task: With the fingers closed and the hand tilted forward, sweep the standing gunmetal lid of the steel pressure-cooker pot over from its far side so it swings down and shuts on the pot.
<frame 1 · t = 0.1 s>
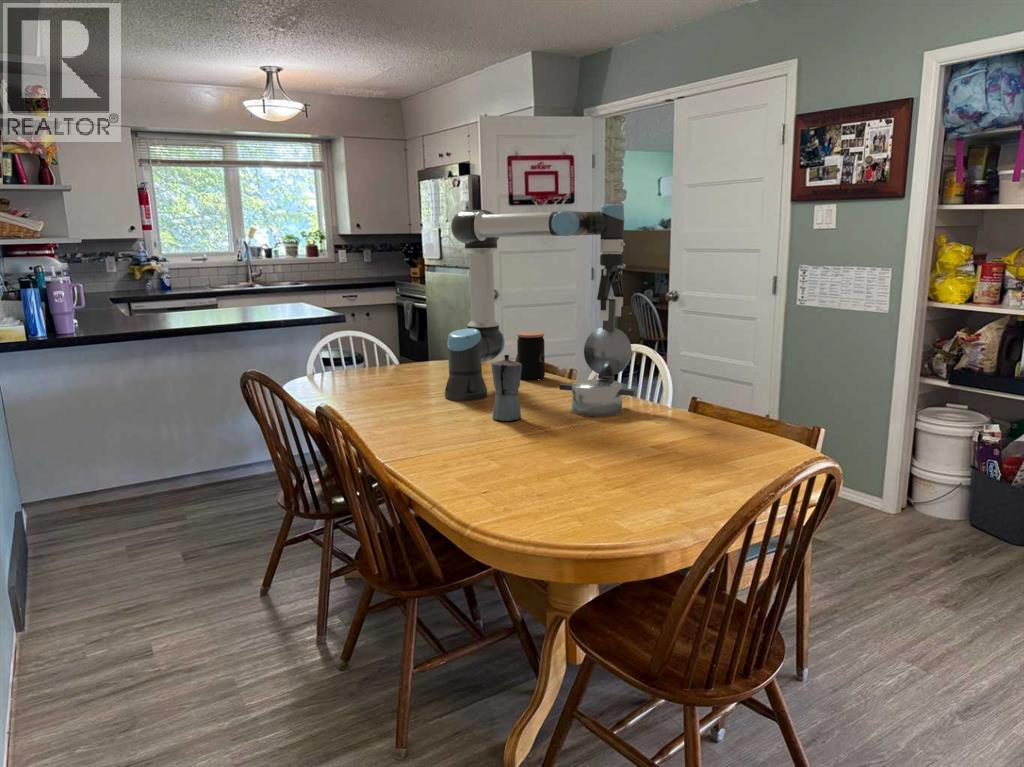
hand: (610, 318, 231), 28 cm above the table, tool pointing down, fingers open, 13 cm apart
coffee jar: (531, 378, 276), on the table
pot: (596, 410, 223), on the table
moka pot: (507, 419, 215), on the table
lid: (608, 339, 227), point 22 cm above the table, hinge at 98.0°
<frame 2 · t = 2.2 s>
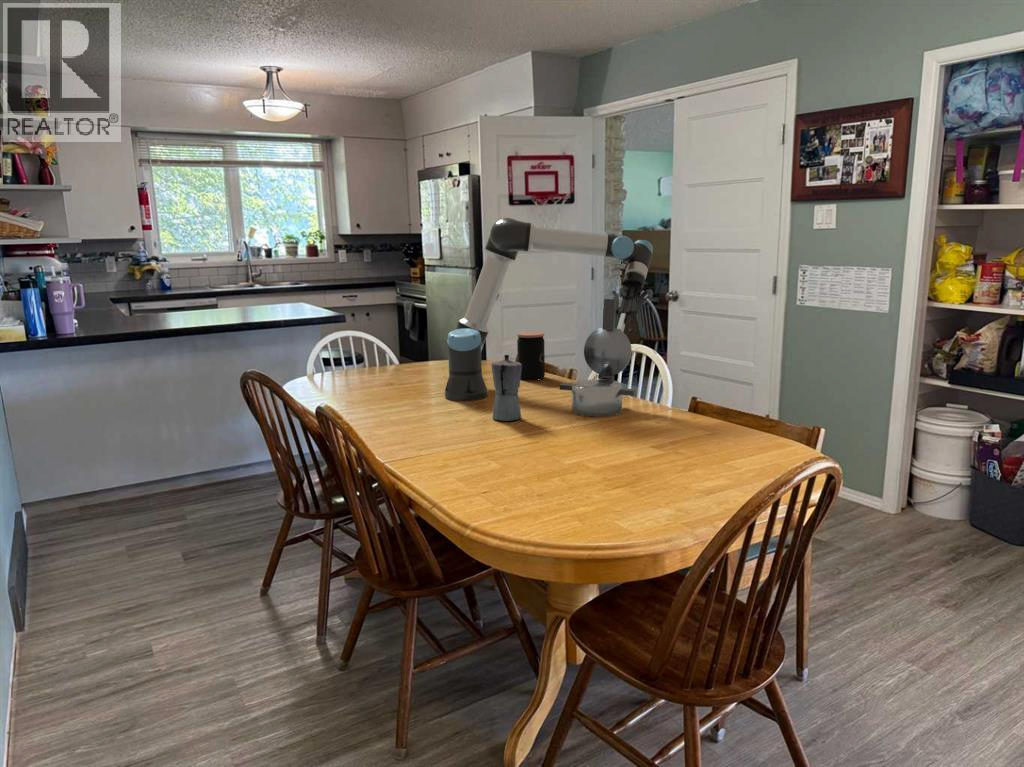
hand: (619, 330, 235), 23 cm above the table, tool tilted 45°, fingers closed
nothing on the table moved.
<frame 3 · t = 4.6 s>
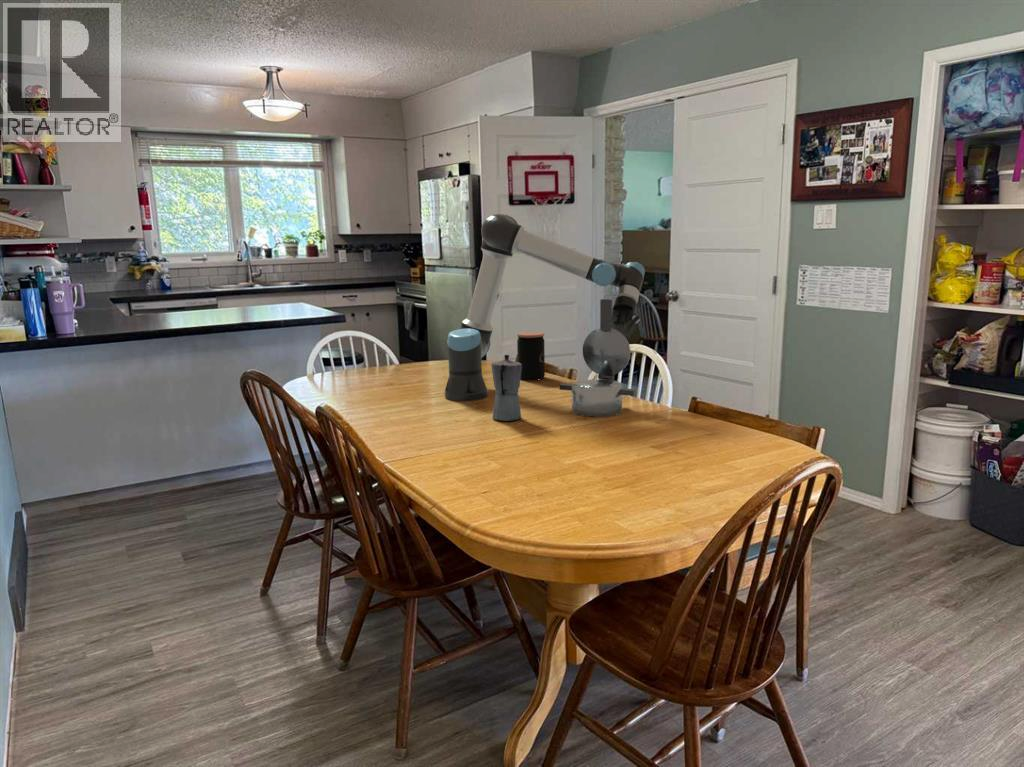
hand: (610, 357, 228), 16 cm above the table, tool tilted 45°, fingers closed
lid: (606, 339, 226), point 22 cm above the table, hinge at 89.9°, touching gripper
everything else where it was.
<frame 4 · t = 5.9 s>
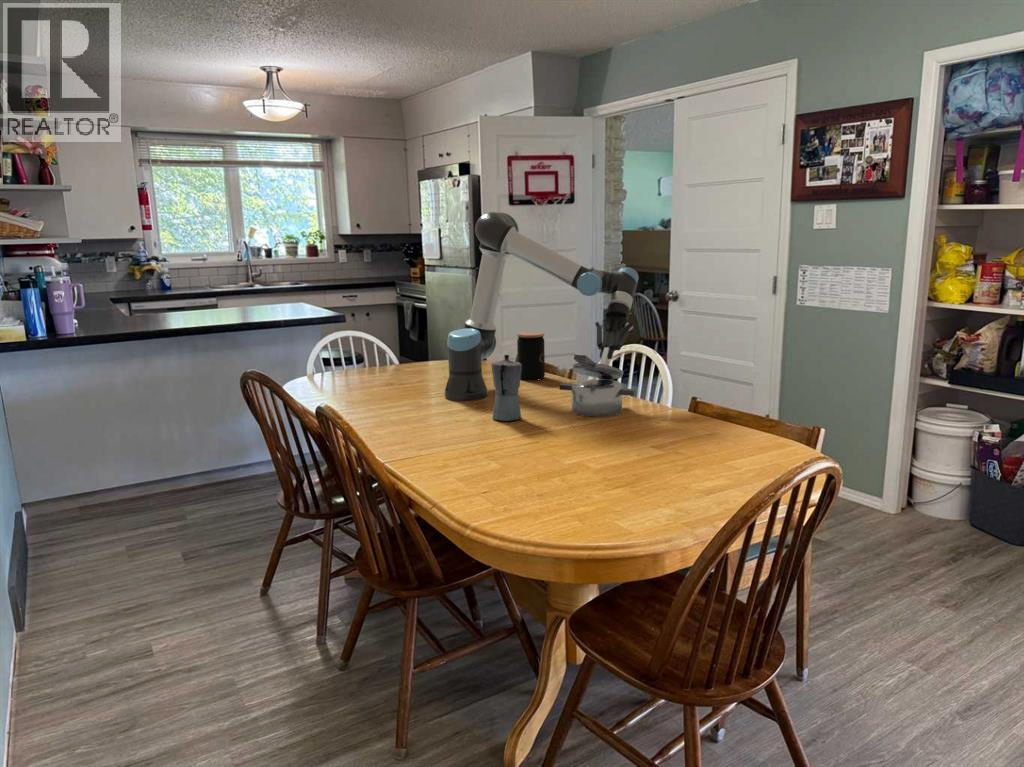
hand: (603, 366, 222), 14 cm above the table, tool tilted 45°, fingers closed
lid: (594, 367, 217), point 15 cm above the table, hinge at 24.2°
everything else where it was.
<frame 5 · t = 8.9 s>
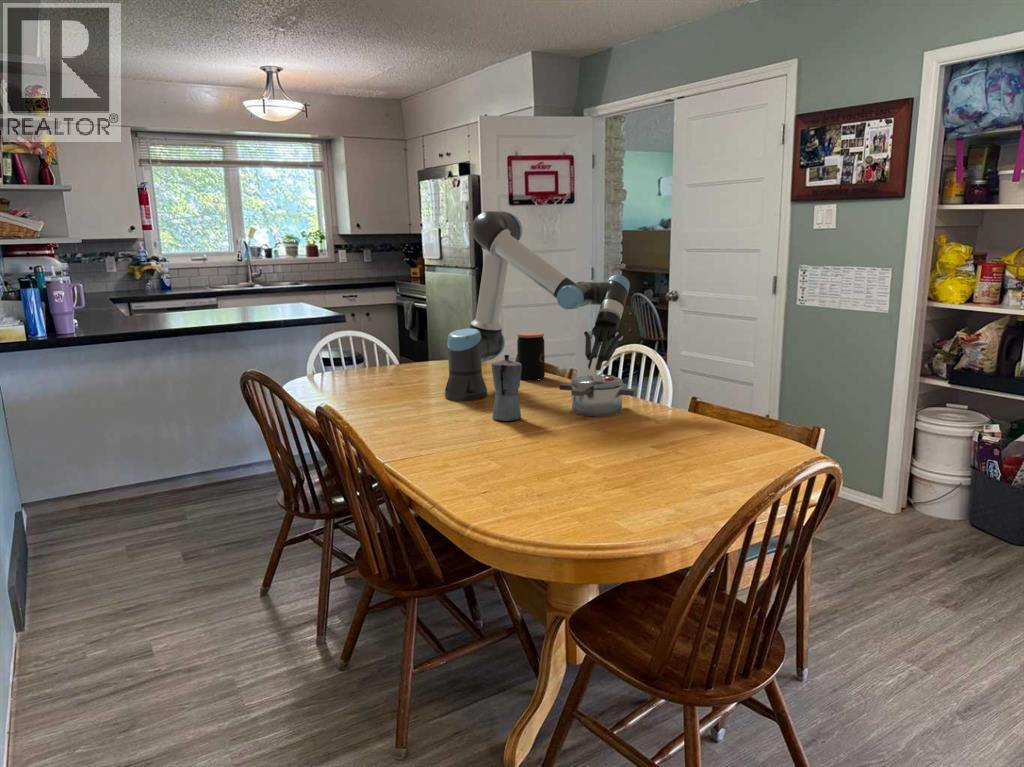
hand: (591, 377, 213), 12 cm above the table, tool tilted 45°, fingers closed
lid: (592, 383, 218), point 10 cm above the table, hinge at -0.1°
everything else where it was.
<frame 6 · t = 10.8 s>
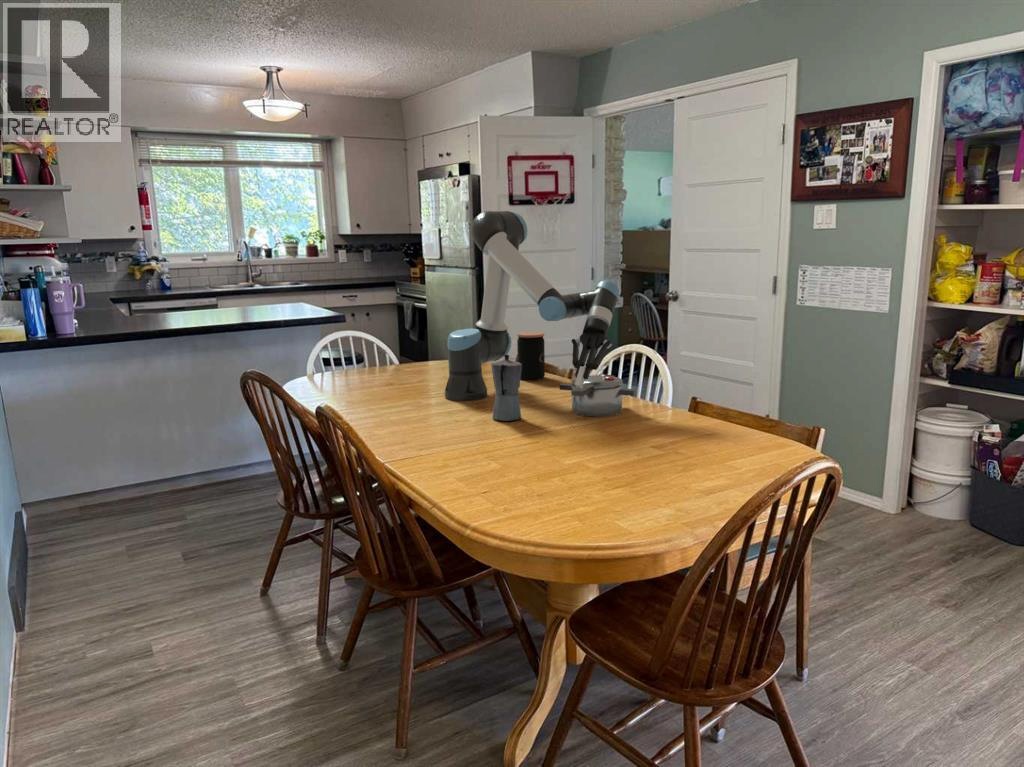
hand: (578, 386, 206), 11 cm above the table, tool tilted 45°, fingers closed
lid: (592, 384, 218), point 10 cm above the table, hinge at -0.2°, touching gripper
everything else where it was.
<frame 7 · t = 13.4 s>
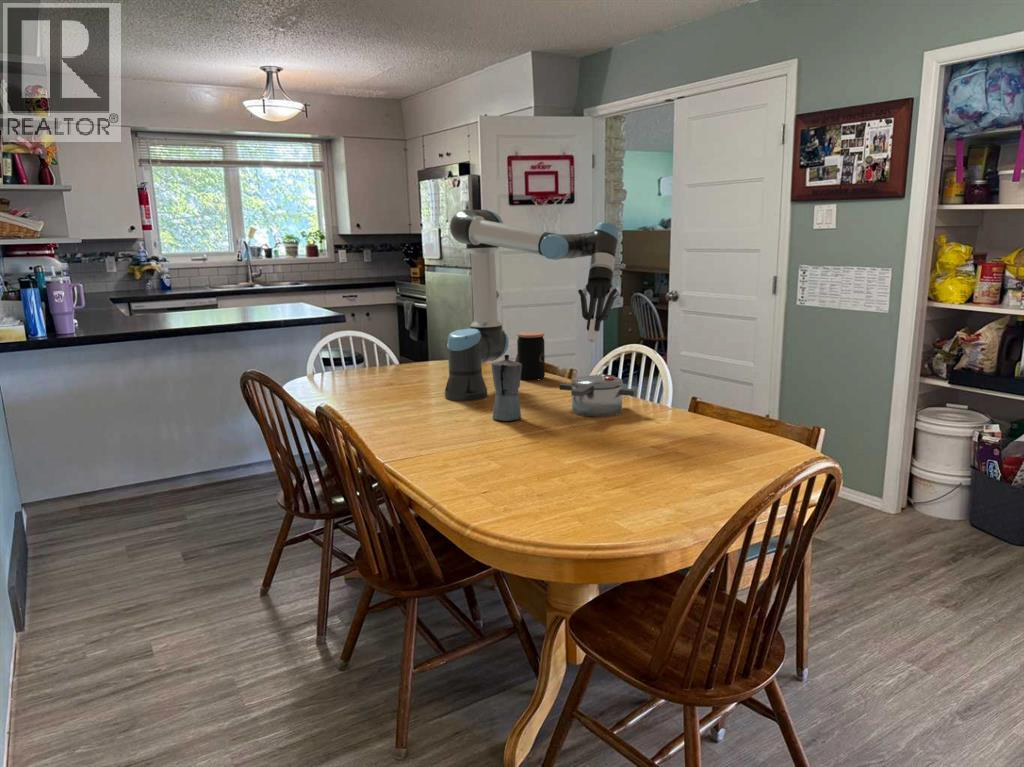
hand: (591, 340, 213), 24 cm above the table, tool tilted 30°, fingers closed
lid: (592, 384, 218), point 10 cm above the table, hinge at -0.2°
everything else where it was.
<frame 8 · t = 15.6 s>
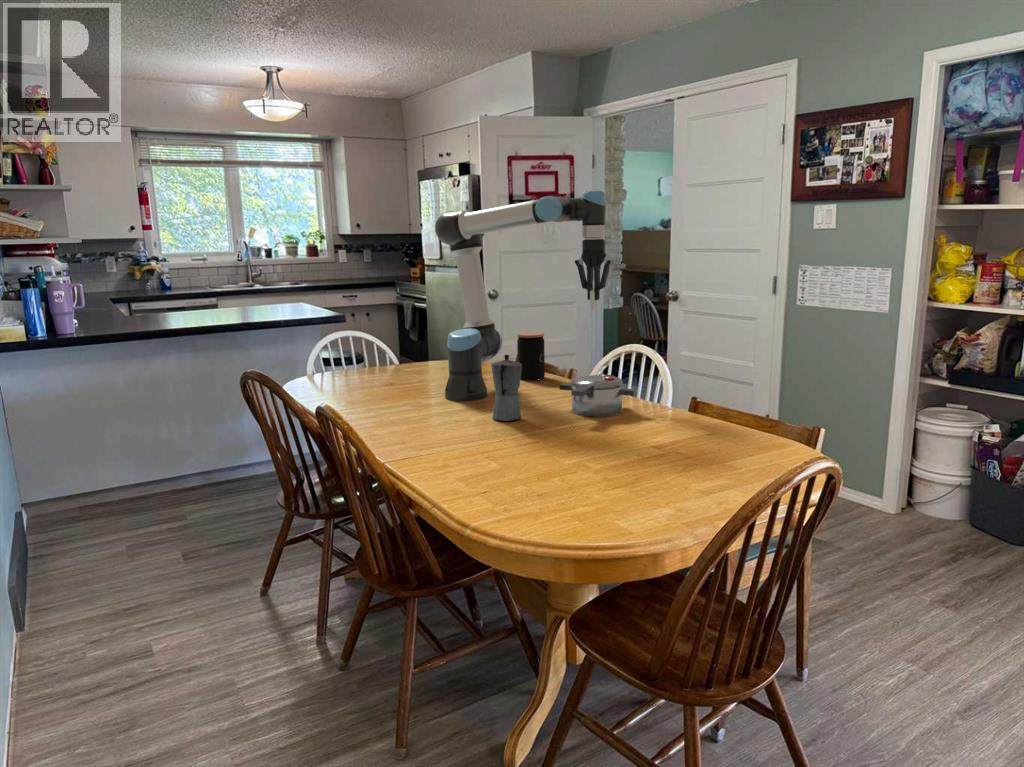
hand: (593, 309, 236), 30 cm above the table, tool pointing down, fingers closed
nothing on the table moved.
at the end: lid at +0° (first picture: +98°); the gripper is holding nothing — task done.
